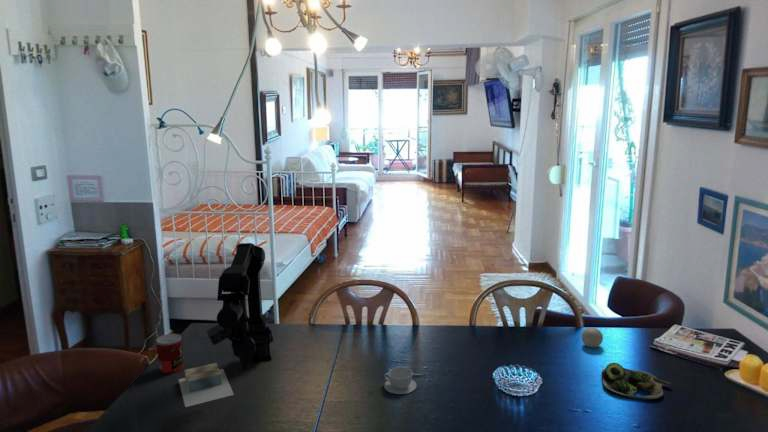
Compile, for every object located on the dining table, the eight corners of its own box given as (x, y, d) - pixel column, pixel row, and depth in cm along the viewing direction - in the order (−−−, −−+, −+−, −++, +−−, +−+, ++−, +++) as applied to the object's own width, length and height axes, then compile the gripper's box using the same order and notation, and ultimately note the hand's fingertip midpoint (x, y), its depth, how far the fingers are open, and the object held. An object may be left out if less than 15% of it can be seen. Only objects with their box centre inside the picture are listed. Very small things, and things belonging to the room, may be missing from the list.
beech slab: (222, 383, 172) (217, 372, 180) (221, 373, 172) (216, 362, 179) (188, 392, 168) (185, 380, 175) (187, 381, 167) (184, 370, 175)
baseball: (606, 346, 191) (608, 329, 190) (593, 352, 187) (595, 334, 186) (590, 339, 197) (591, 322, 195) (577, 345, 193) (578, 327, 191)
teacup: (420, 381, 172) (420, 367, 171) (411, 397, 163) (411, 383, 162) (390, 376, 175) (389, 363, 174) (379, 392, 166) (379, 378, 165)
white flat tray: (223, 369, 182) (222, 368, 182) (234, 395, 166) (233, 394, 166) (178, 380, 176) (178, 379, 176) (185, 408, 160) (185, 407, 160)
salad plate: (665, 376, 172) (667, 362, 171) (676, 406, 155) (678, 392, 154) (599, 368, 177) (600, 355, 176) (603, 397, 161) (604, 382, 160)
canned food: (176, 375, 179) (172, 344, 177) (154, 373, 181) (150, 342, 178) (189, 364, 186) (185, 334, 184) (168, 362, 188) (164, 332, 185)
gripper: (203, 307, 163) (208, 356, 166) (212, 331, 146) (218, 384, 150) (241, 300, 167) (245, 348, 171) (254, 323, 151) (258, 375, 154)
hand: (241, 363), depth 161 cm, fingers open, 9 cm apart
